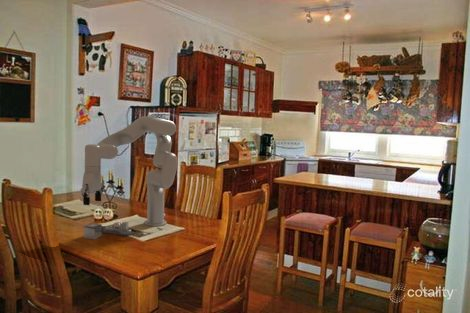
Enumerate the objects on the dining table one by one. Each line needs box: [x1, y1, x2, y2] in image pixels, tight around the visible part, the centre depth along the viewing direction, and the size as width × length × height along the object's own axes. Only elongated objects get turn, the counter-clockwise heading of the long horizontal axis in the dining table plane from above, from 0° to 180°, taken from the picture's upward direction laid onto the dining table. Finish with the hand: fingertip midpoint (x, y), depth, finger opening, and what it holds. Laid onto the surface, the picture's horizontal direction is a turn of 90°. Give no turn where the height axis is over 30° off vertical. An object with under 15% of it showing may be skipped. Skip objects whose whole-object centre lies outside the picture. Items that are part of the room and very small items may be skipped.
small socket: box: [113, 221, 122, 229], centre depth 205 cm, size 4×4×4 cm
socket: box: [83, 222, 103, 240], centre depth 191 cm, size 6×6×6 cm
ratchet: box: [102, 221, 133, 237], centre depth 199 cm, size 6×24×6 cm, turn 77°
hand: (92, 202), depth 190 cm, fingers open, 9 cm apart
